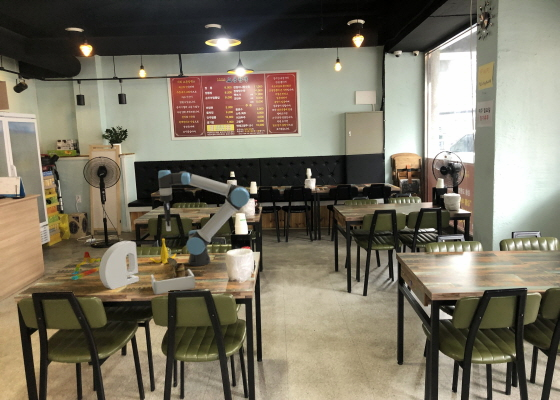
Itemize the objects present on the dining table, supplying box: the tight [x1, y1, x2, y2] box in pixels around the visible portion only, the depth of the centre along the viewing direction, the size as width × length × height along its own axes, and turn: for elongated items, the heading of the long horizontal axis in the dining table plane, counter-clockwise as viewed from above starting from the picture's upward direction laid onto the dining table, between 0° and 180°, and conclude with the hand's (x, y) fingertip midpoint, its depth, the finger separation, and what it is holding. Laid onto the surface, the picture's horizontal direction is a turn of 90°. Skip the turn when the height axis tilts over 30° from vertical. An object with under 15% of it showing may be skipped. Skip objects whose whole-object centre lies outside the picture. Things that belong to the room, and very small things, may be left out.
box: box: [150, 268, 196, 295], centre depth 244 cm, size 22×15×7 cm
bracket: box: [98, 240, 140, 290], centre depth 251 cm, size 7×21×25 cm, turn 142°
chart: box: [71, 251, 102, 281], centre depth 279 cm, size 30×3×15 cm, turn 160°
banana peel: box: [149, 238, 177, 265], centre depth 298 cm, size 17×19×17 cm
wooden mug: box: [167, 257, 187, 279], centre depth 249 cm, size 9×14×18 cm, turn 163°
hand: (168, 230), depth 274 cm, fingers closed
